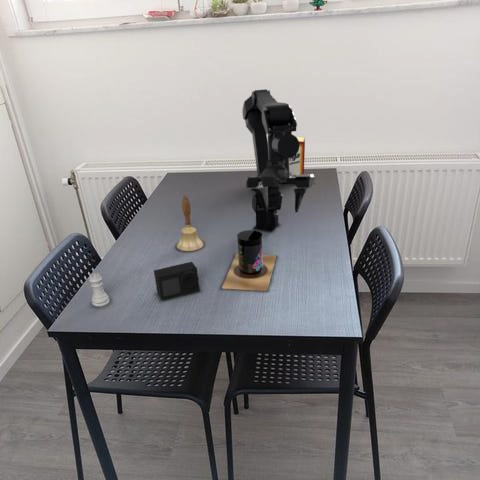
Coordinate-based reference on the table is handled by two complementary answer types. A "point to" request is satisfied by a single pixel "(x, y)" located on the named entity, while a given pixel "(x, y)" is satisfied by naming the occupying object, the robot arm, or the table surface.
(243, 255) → the supplement container
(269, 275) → the placemat
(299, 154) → the baking soda box
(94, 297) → the rook chess piece
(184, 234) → the hand bell
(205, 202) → the table surface
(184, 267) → the digital camera
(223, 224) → the table surface
